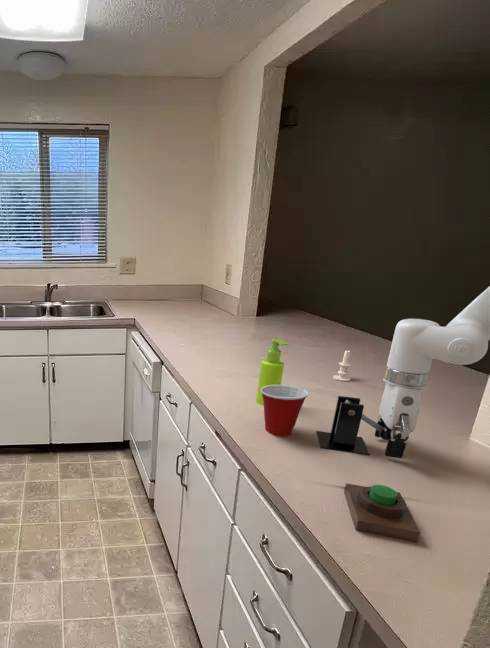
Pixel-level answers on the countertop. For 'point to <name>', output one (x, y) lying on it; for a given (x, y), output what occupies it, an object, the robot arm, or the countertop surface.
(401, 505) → the button block
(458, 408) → the countertop surface
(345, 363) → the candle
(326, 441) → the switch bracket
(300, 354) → the countertop surface
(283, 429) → the plastic cup
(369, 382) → the countertop surface
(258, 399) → the soap dispenser
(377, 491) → the light button
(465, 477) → the countertop surface
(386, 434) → the light lever
